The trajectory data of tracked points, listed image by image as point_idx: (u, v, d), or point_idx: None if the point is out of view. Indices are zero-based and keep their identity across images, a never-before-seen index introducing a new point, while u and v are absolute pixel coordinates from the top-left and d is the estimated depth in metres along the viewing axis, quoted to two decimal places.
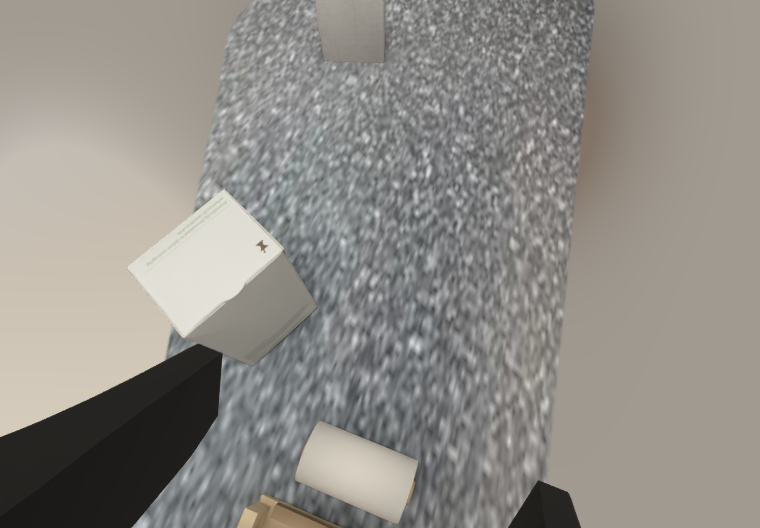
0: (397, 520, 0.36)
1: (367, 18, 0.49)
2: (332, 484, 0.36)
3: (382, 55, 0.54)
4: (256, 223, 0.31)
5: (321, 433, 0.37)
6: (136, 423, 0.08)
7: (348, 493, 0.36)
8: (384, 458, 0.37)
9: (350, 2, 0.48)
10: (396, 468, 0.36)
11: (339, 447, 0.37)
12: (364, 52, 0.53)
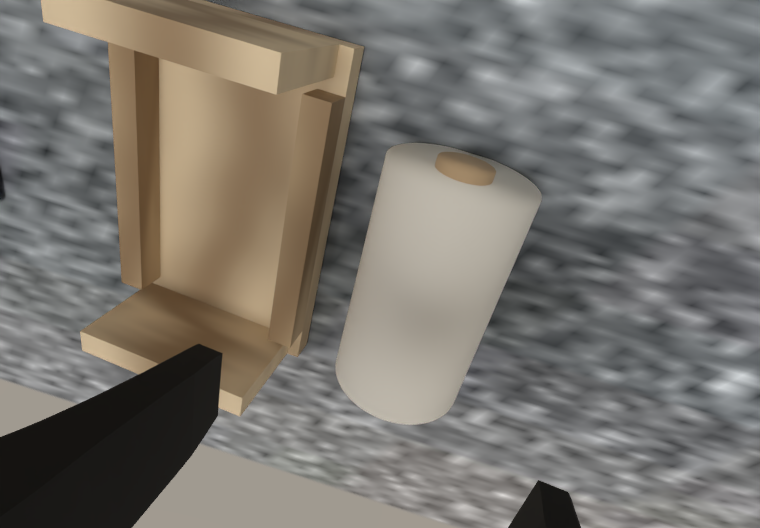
0: (337, 375, 0.18)
1: None
2: (379, 265, 0.14)
3: None
4: None
5: (501, 232, 0.13)
6: (136, 423, 0.08)
7: (367, 297, 0.15)
8: (448, 370, 0.16)
9: None
10: (429, 395, 0.16)
11: (466, 283, 0.14)
12: None
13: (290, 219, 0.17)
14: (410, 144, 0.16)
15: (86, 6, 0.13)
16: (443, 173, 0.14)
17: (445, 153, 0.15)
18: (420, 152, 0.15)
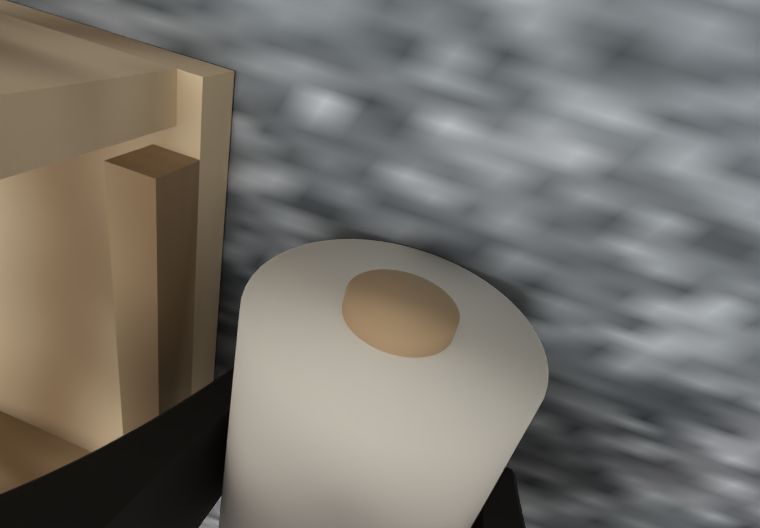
0: None
1: None
2: (238, 495, 0.08)
3: None
4: None
5: (465, 478, 0.06)
6: (193, 448, 0.08)
7: None
8: None
9: None
10: None
11: None
12: None
13: (126, 355, 0.10)
14: (311, 246, 0.09)
15: None
16: (353, 331, 0.07)
17: (365, 277, 0.08)
18: (325, 266, 0.08)
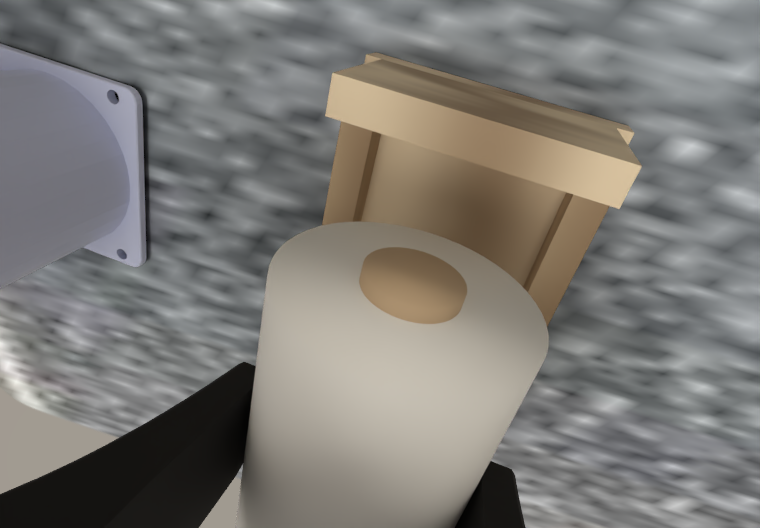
0: None
1: None
2: (254, 431, 0.09)
3: None
4: None
5: (444, 433, 0.07)
6: (193, 448, 0.08)
7: (246, 469, 0.09)
8: None
9: None
10: None
11: (381, 503, 0.07)
12: None
13: None
14: (347, 225, 0.10)
15: (389, 104, 0.11)
16: (364, 293, 0.08)
17: (386, 251, 0.09)
18: (354, 242, 0.09)
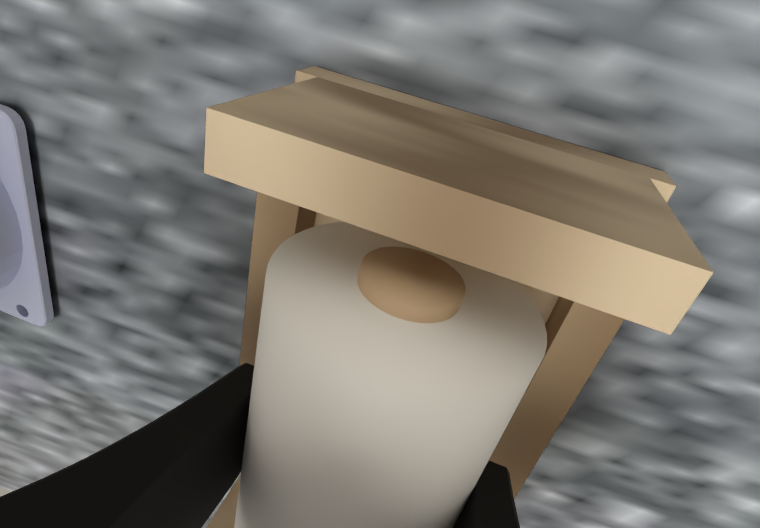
0: None
1: None
2: (253, 430, 0.09)
3: None
4: None
5: (441, 431, 0.07)
6: (196, 449, 0.08)
7: (245, 468, 0.09)
8: None
9: None
10: None
11: (378, 502, 0.07)
12: None
13: (521, 419, 0.11)
14: (345, 224, 0.10)
15: (297, 158, 0.07)
16: (362, 292, 0.08)
17: (384, 250, 0.09)
18: (353, 241, 0.09)
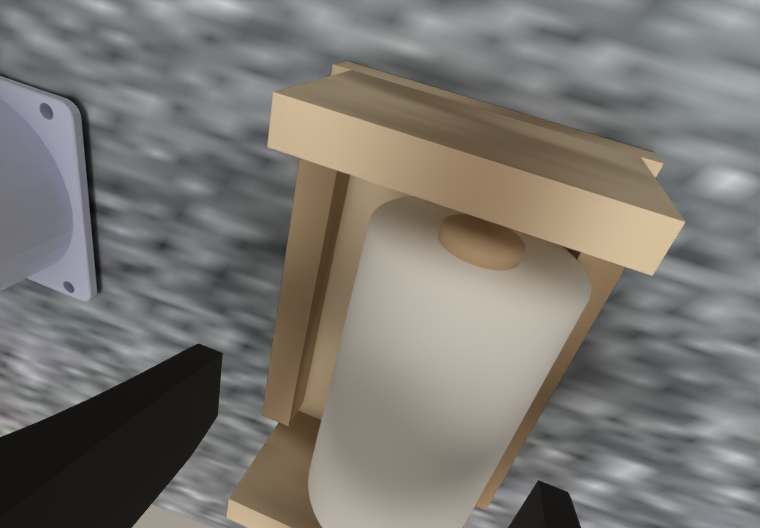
0: (313, 505, 0.13)
1: None
2: (370, 388, 0.10)
3: None
4: None
5: (550, 344, 0.09)
6: (136, 423, 0.08)
7: (352, 424, 0.11)
8: (467, 503, 0.12)
9: None
10: None
11: (499, 410, 0.10)
12: None
13: None
14: (395, 202, 0.11)
15: (348, 133, 0.08)
16: (456, 255, 0.10)
17: (450, 219, 0.10)
18: (412, 215, 0.11)
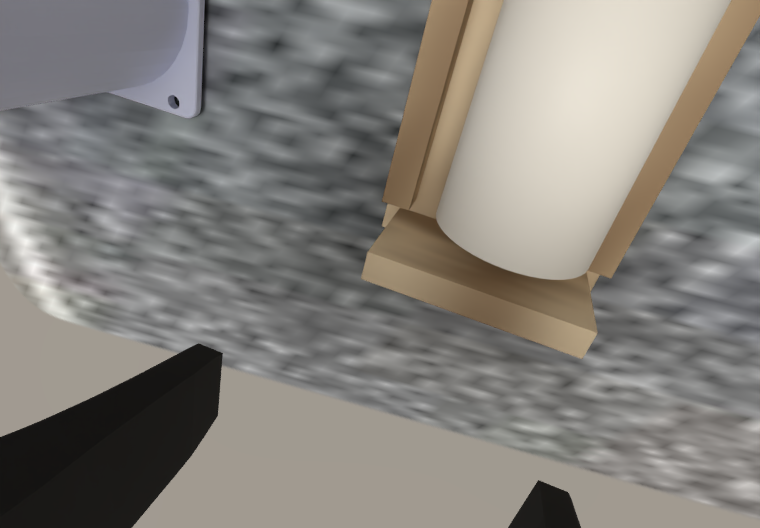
0: (443, 226, 0.14)
1: None
2: (534, 30, 0.11)
3: None
4: None
5: None
6: (136, 423, 0.08)
7: (506, 89, 0.11)
8: (610, 194, 0.12)
9: None
10: (579, 232, 0.12)
11: (667, 35, 0.10)
12: None
13: None
14: None
15: None
16: None
17: None
18: None
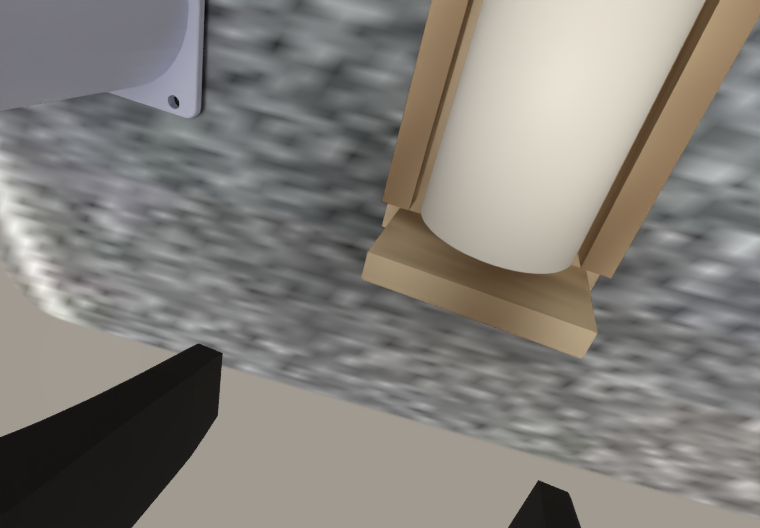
0: (423, 213, 0.14)
1: None
2: (498, 20, 0.11)
3: None
4: None
5: None
6: (136, 423, 0.08)
7: (475, 78, 0.12)
8: (575, 187, 0.12)
9: None
10: (544, 224, 0.12)
11: (623, 24, 0.10)
12: None
13: (679, 95, 0.13)
14: None
15: None
16: None
17: None
18: None
